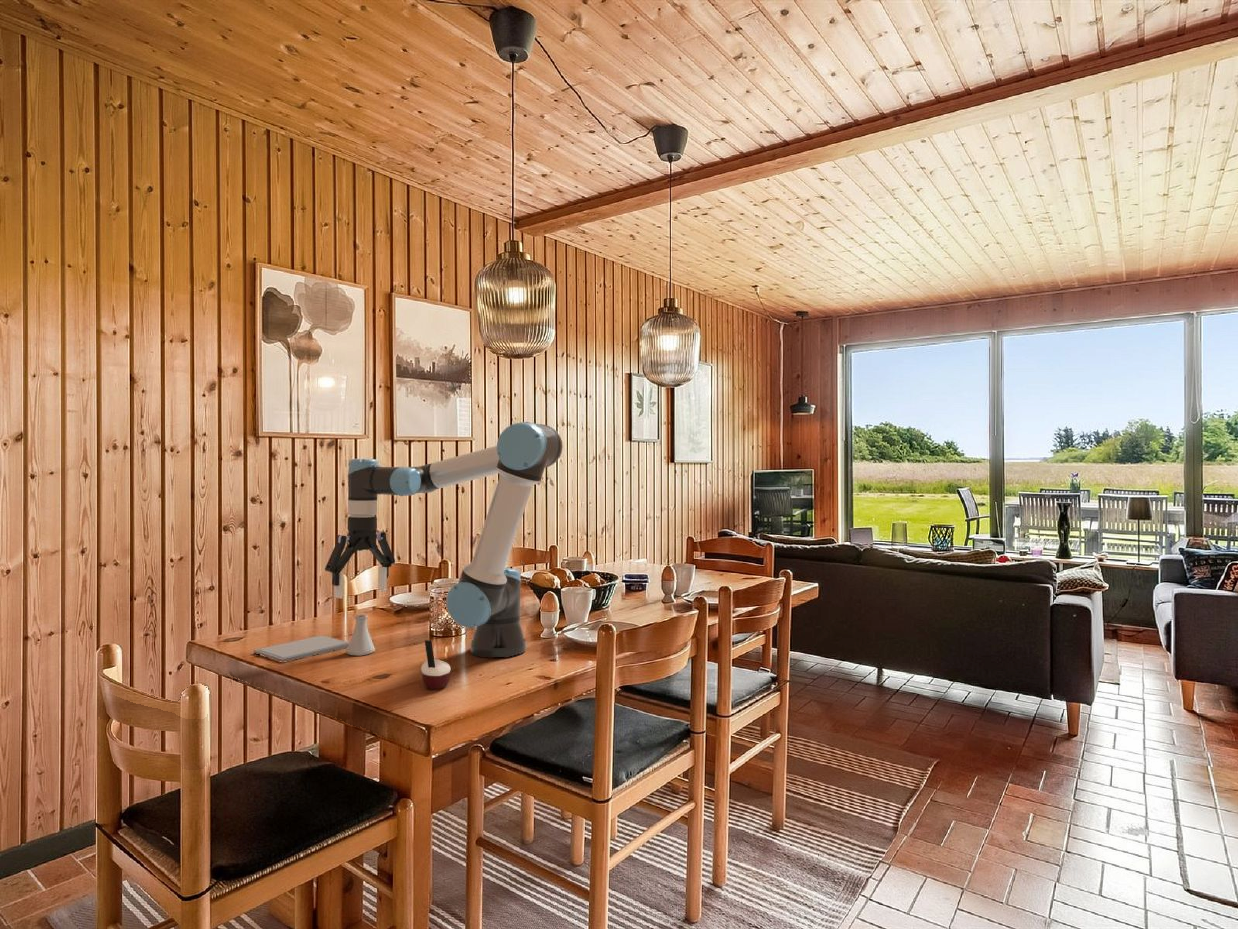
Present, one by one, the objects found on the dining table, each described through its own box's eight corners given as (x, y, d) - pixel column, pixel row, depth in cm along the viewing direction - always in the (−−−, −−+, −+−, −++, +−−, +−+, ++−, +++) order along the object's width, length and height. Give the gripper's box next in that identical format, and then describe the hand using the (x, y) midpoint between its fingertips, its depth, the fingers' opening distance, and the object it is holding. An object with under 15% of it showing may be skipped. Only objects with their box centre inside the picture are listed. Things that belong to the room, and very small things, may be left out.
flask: (380, 651, 192) (381, 614, 192) (360, 658, 186) (361, 620, 186) (360, 647, 195) (361, 611, 195) (340, 654, 189) (340, 617, 189)
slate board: (351, 646, 196) (351, 642, 196) (282, 663, 180) (282, 659, 180) (322, 638, 204) (322, 634, 204) (253, 653, 188) (253, 649, 188)
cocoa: (439, 682, 169) (440, 631, 169) (459, 685, 165) (460, 634, 166) (409, 691, 160) (410, 638, 161) (429, 695, 157) (430, 641, 158)
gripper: (391, 512, 203) (390, 585, 203) (311, 517, 182) (310, 599, 182) (408, 514, 198) (407, 589, 199) (328, 519, 178) (327, 603, 178)
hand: (360, 594), depth 190 cm, fingers open, 13 cm apart
